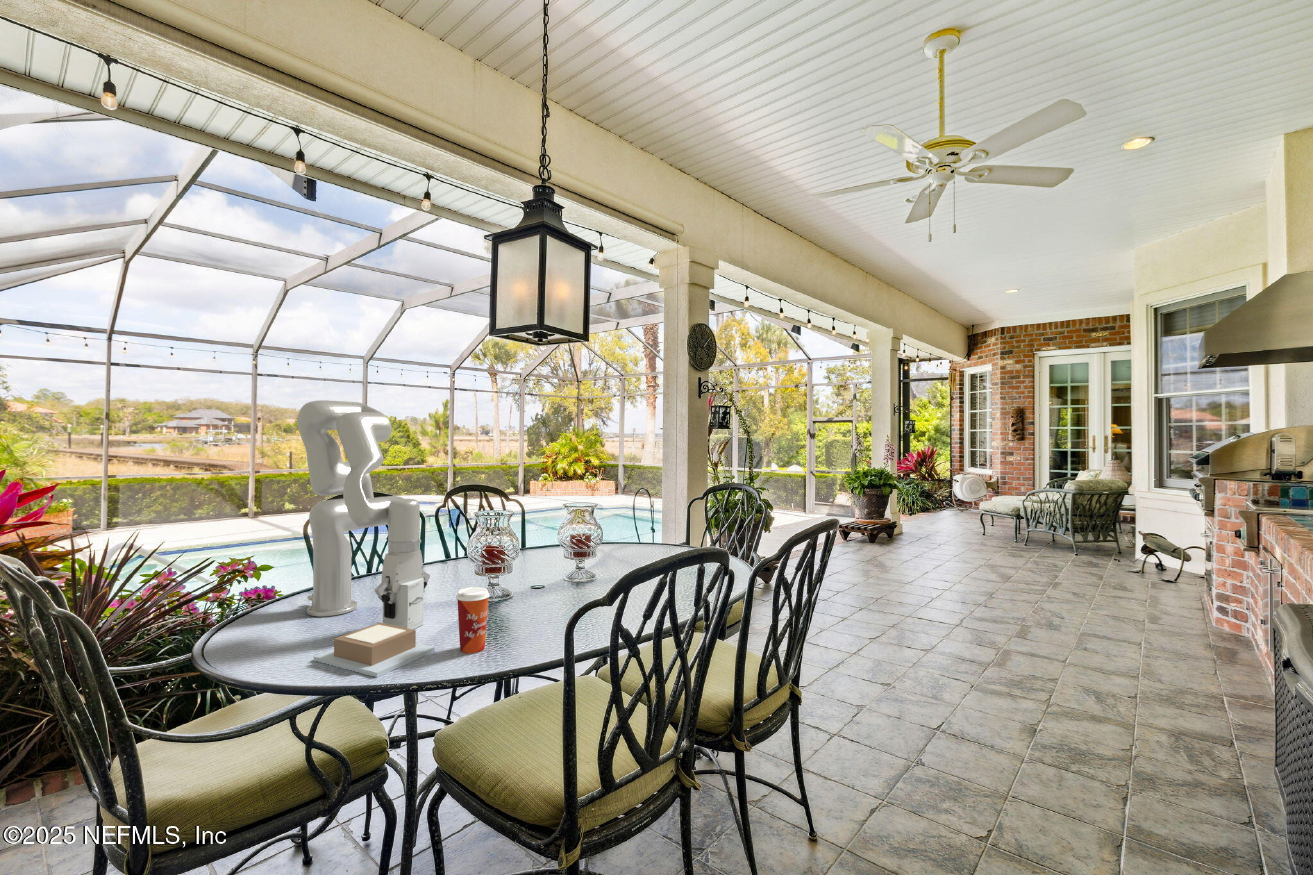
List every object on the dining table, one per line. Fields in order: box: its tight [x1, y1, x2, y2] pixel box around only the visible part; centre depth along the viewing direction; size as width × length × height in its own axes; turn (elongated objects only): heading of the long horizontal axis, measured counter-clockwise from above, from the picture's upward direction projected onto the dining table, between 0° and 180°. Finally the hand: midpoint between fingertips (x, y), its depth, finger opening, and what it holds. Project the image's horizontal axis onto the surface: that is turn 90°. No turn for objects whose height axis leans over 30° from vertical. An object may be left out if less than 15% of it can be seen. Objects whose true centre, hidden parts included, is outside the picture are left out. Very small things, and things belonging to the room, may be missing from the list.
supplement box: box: [382, 578, 425, 630], centre depth 151 cm, size 7×7×13 cm
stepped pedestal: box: [313, 622, 436, 678], centre depth 133 cm, size 20×16×5 cm
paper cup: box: [455, 586, 490, 655], centre depth 138 cm, size 8×8×14 cm
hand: (403, 612), depth 151 cm, fingers closed on supplement box, 8 cm apart
